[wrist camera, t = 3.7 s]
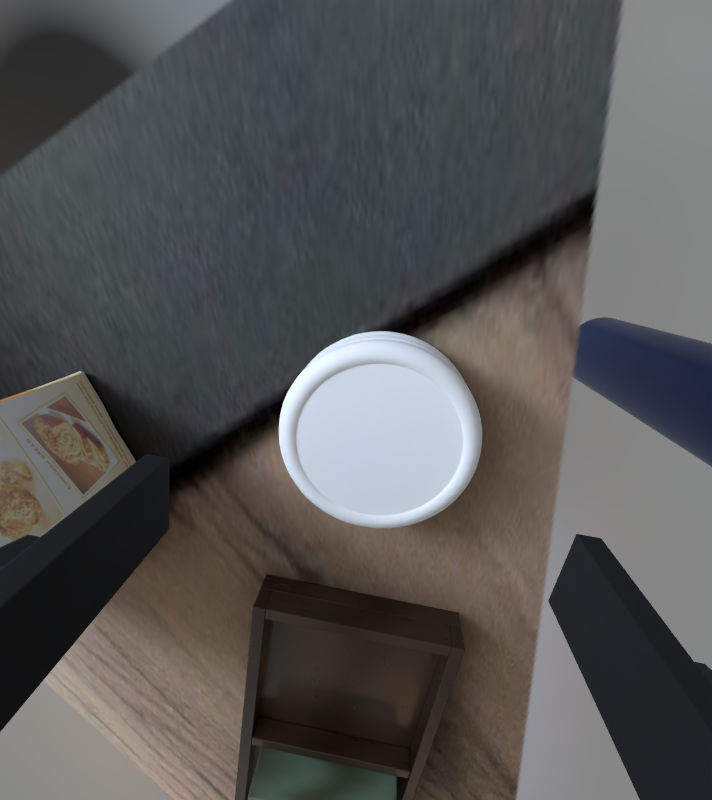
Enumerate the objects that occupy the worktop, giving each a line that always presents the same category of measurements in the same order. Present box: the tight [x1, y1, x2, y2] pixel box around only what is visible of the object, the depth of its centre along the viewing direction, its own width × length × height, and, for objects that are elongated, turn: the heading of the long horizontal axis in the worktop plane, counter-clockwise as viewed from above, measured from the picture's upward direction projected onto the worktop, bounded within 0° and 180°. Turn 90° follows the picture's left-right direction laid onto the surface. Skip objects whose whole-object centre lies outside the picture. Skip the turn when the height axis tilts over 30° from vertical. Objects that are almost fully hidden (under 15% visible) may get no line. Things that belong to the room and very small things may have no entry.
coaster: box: [279, 331, 482, 529], centre depth 21 cm, size 10×10×4 cm
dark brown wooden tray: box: [235, 575, 465, 800], centre depth 28 cm, size 13×25×5 cm, turn 171°
